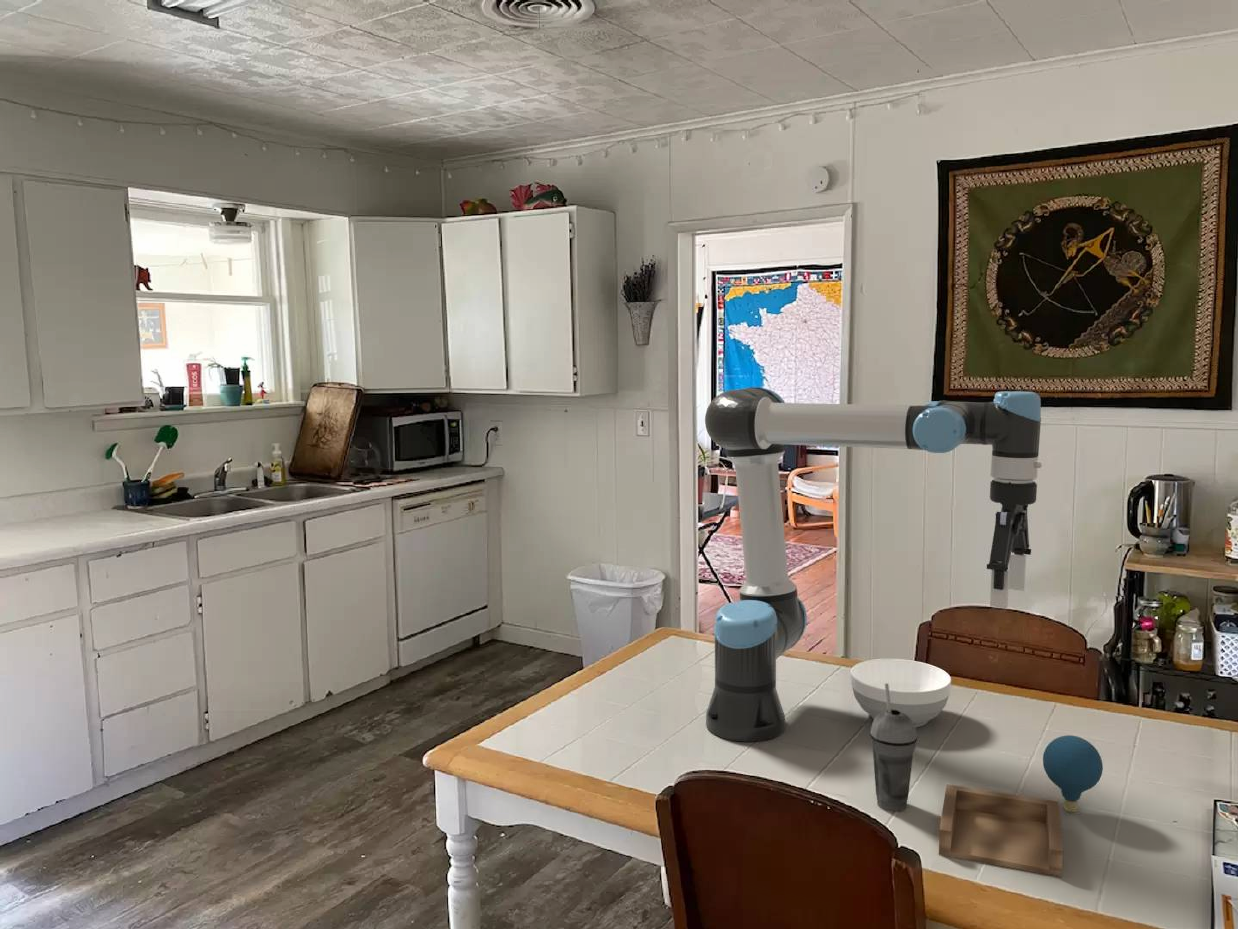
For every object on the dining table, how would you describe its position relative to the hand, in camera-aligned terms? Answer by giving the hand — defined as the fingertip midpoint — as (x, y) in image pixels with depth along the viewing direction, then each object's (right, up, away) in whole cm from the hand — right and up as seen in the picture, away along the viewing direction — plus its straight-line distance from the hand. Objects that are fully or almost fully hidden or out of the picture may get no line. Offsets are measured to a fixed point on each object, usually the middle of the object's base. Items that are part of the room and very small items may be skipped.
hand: (1007, 598), depth 167 cm
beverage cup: (-26, -31, -18) cm, 44 cm away
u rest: (-13, -32, -28) cm, 44 cm away
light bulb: (+1, -31, -20) cm, 37 cm away
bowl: (-14, -26, +17) cm, 34 cm away
